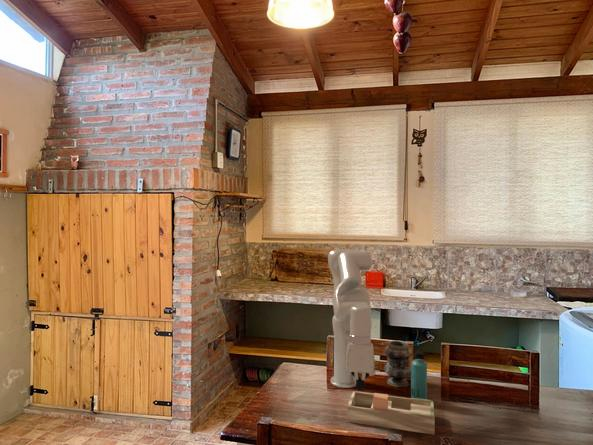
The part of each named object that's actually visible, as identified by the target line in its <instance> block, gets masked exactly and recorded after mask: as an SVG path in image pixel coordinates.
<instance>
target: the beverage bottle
mask: <svg viewBox="0 0 593 445" xmlns="http://www.w3.org/2000/svg"><path fill="white" fill-rule="evenodd" d="M413 358H414V359H412V360H411V363H410V364H411V367H410V368H411V375H410V379H411V380H410V398H418V399H426V400H428V399H427V398H428V363H427V361H425V360H424V359H425V352H423V351H420V350H419V351H416V350H415V351H414V353H413Z"/></svg>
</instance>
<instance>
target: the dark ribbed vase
mask: <svg viewBox="0 0 593 445" xmlns="http://www.w3.org/2000/svg"><path fill="white" fill-rule="evenodd" d="M384 353H385V355H387V358H386V359H387V362H386V364H385V366H384V367H383V368H384V369H383V371H384V372H385V374H386V375H387V376H389V378H388V379H386V383H387V384H388V385H390V386H392V387H395V388H404V387H405V388H406V387H408V386H409V385H410V383H409V380H407V378H409V377H411V367H410V358H411V357H412V354H413V353H412V349H411V348H410V346H409V344H408V342H406V341H403V340H390V341H389V342H388V345H387V346H386V347H385V348H384Z"/></svg>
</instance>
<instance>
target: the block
mask: <svg viewBox="0 0 593 445" xmlns="http://www.w3.org/2000/svg"><path fill="white" fill-rule="evenodd" d="M373 394H374V396H373V409H378V410H385V411H388V396H389V394H387V393H378V392H374V393H373Z"/></svg>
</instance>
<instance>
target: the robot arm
mask: <svg viewBox="0 0 593 445" xmlns="http://www.w3.org/2000/svg"><path fill="white" fill-rule="evenodd" d="M327 260H328V261H327V262H328V267H329V271H330V273H331V275H332V279H333V294H332V307H333V314H334V315H333V316H332V318H331V319H332V331H333V345H334V346H333V347H334V348H333V376H332V377H331V378H330V384H332V385H333V386H335V387H337V388H341V389H342V388H345V389H348V388H349V389H351V388H354V387H355V388H357V392H363V390H364V389H365V386H366V379H367V378H368V377H369V376H370V377H373V376H375V375H376V371H375V361H376V360H375V352H374V350H375V349H374V345H373V343H372V328H373V326H372V324H373V323H372V322H373V321H372V307H371V298H370V294H369V292H368V290H367V289H366V288H364V287H363V288H362V287H360V286H361V284H362V281H363V280H362V275H361V271H362V272H363V271H370V270H371V269H372V266H373V259H372V256H371V253H370V252H369V251H367V250H365V249H363V248H362V249H361V248H360V249H354V248H353V249H352V248H349V249H348V248H346V249H345V248H339V249H332V250H330V251H329V253H328V255H327ZM360 374H361V376H360Z"/></svg>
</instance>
